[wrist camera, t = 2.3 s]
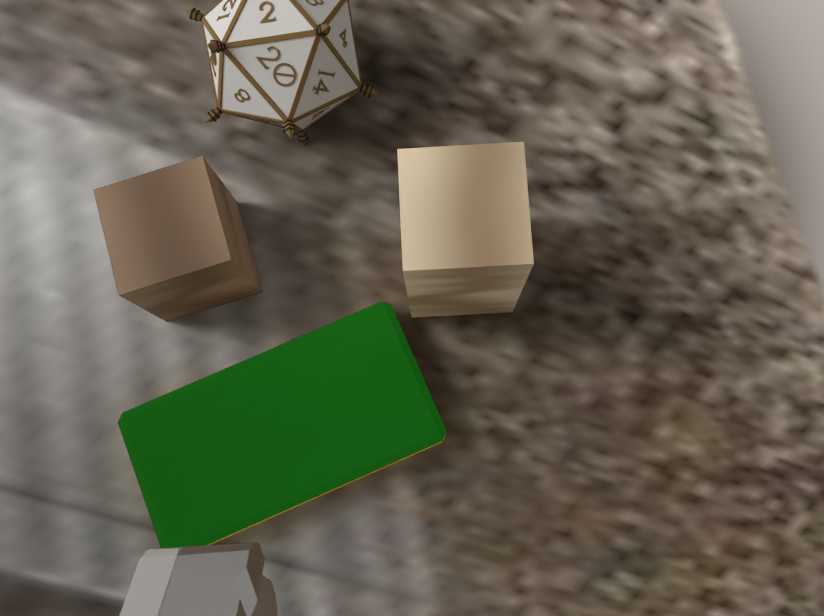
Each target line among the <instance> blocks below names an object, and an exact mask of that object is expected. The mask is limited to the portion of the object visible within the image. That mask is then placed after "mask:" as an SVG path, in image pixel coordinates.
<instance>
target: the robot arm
mask: <svg viewBox="0 0 824 616" xmlns="http://www.w3.org/2000/svg"><path fill="white" fill-rule="evenodd" d="M264 560H265V559H264V557H263V554H262V551H261V548H260V545H259V543H238V544H222V545H205V546H188V547H178V548H163V549H148V550H147V551H146V552H145V553H144V555H143V556H142V557H141V559H140V560H139V562H138V565H137V568H136V570H135V573H134V576H133V579H132V582H131V585H130V587H129V590H128V593H127V596H126V599H125V602H124V604H123V607H122V610H121V613H120V616H277V605H276V598H275V592H274V589H273V585H272V582H271V581H270V580H269V579H267V578H266V577H265V576H263V575H262V572H263V566H264Z"/></svg>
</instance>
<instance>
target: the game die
mask: <svg viewBox="0 0 824 616" xmlns="http://www.w3.org/2000/svg"><path fill="white" fill-rule="evenodd" d="M185 12H186V13H187V14H188V15H189V18H190V19H191V20H193V19H194V20H195V21H201V22H202V27H203V32H204V38H205V43H206V48H207V54H208V59H209V64H210V70H211V75H212V81H213V86H214V91H215V97H216V102H217V108H216V109H214V110H213V109H212V111H211V112H208V116H207V120H206V122H212V121H215V122H216V120H217V119H218V118H220V115H221V113H226V114H230V115H235V116H239V117H243V118H247V119H251V120H255V121H259V122H263V123H267V124H271V125H275V126H279V127H283V128H284V129H285V130H284V131H283V132H284V133H285V134H286V135H287V136H289V138H290V139H291V138H292V136H293V135H295V132H296V131H298V134H297V136H298V138H297V139H298V141H299V142H301V143H302V144H303V145H304V146H305V143H306V140H307V139H308V137H307V133H306V132H305V131H304V129H306V128H307V127H309V126H310V125H311V124H313V123H314V122H316V121H317V120H319V119H320V118H322V117H323V116H324V115H326V114H327V113H329V112H330V111H332V110H333V109H335V108H336V107H337V106H339V105H340V104H342V103H343V102H345V101H346V100H347V99H349V98H350V97H352V96H353V95H355V94H356V93H358V92H359V91H360V92H362V93H363V94H364V96H365V95H366V96H368V98H369V97H372V96H378V94H377V93H376V91H375V90H374V89H373V87H370V86H369V85H367V86H366V85H362V80H361V74H360V68H359V62H358V55H357V49H356V43H355V37H354V30H353V24H352V18H351V12H350V5H349V0H220V1H219V2H218V3H217V4H216V5H215V6H214V7H212V8H211V9H210V10H209V11H208V12H207V13H206V14H205V15H204V14H202V13H201V12H200V10H198V11H197V10H195V8H194V9H190V10H185Z"/></svg>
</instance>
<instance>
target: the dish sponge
mask: <svg viewBox="0 0 824 616" xmlns="http://www.w3.org/2000/svg"><path fill="white" fill-rule="evenodd" d="M118 424H119V427H120V430H121V433H122V436H123V439H124V442H125V445H126V447H127V450H128V453H129V456H130V459H131V462H132V465H133V468H134V471H135V474H136V477H137V479H138V482H139V485H140V488H141V491H142V494H143V497H144V500H145V503H146V506H147V508H148V511H149V514H150V517H151V520H152V523H153V526H154V529H155V532H156V535H157V538H158V540H159V543H160V546H161V549H163V548H178V547H188V546H205V545H212V544H214V543H216V542H218V541H221V540H223V539H225V538H227V537H230V536H232V535H234V534H236V533H239V532H241V531H243V530H245V529H248V528H250V527H252V526H254V525H257V524H259V523H261V522H263V521H266V520H268V519H270V518H273V517H275V516H277V515H279V514H282V513H284V512H286V511H288V510H291V509H293V508H295V507H297V506H300V505H302V504H304V503H306V502H309V501H311V500H313V499H315V498H318V497H320V496H322V495H325V494H327V493H329V492H331V491H334V490H336V489H338V488H340V487H343V486H345V485H347V484H349V483H352V482H354V481H356V480H358V479H361V478H363V477H365V476H367V475H370V474H372V473H374V472H377V471H379V470H381V469H383V468H386V467H388V466H390V465H392V464H395V463H397V462H399V461H401V460H404V459H406V458H408V457H410V456H413V455H415V454H417V453H419V452H422V451H424V450H426V449H428V448H431V447H433V446H435V445H438V444H440V443H442V442H443V440H444V437H445V435H446V431H447V430H446V428H445V426H444V424H443V421H442V419H441V417H440V414H439V412H438V410H437V408H436V405H435V403H434V401H433V399H432V396H431V394H430V392H429V389H428V387H427V385H426V383H425V380H424V378H423V376H422V373H421V371H420V369H419V367H418V364H417V362H416V360H415V358H414V355H413V353H412V351H411V348H410V346H409V344H408V342H407V339H406V337H405V335H404V332H403V330H402V328H401V326H400V323H399V321H398V319H397V317H396V314H395V312H394V310H393V307H392V305H390V304H387V303H385V302H380V303H377V304H375V305H373V306H370V307H368V308H366V309H363V310H361V311H359V312H356V313H354V314H352V315H349V316H347V317H345V318H342V319H340V320H338V321H335V322H333V323H331V324H328V325H326V326H324V327H321V328H319V329H317V330H314V331H312V332H310V333H307V334H305V335H303V336H300V337H298V338H296V339H293V340H291V341H289V342H286V343H284V344H282V345H280V346H277V347H275V348H273V349H270V350H268V351H266V352H263V353H261V354H259V355H256V356H254V357H252V358H249V359H247V360H245V361H242V362H240V363H238V364H235V365H233V366H231V367H228V368H226V369H224V370H221V371H219V372H217V373H214V374H212V375H210V376H207V377H205V378H203V379H200V380H198V381H196V382H193V383H191V384H189V385H186V386H184V387H182V388H179V389H177V390H175V391H172V392H170V393H168V394H165V395H163V396H161V397H158V398H156V399H154V400H151V401H149V402H147V403H144V404H142V405H140V406H138V407H135V408H133V409H131V410H128V411H126V412H124V413H122V415H121V417H120V419H119V421H118Z"/></svg>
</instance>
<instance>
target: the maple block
mask: <svg viewBox="0 0 824 616" xmlns="http://www.w3.org/2000/svg"><path fill="white" fill-rule="evenodd" d="M397 154H398V175H399V197H400V219H401V241H402V263H403V274H404V280H405V285H406V290H407V296H408V301H409V306H410V312H411V317H431V316H450V315H469V314H488V313H507V312H513V310H514V308H515V305H516V303H517V301H518V299H519V296H520V294H521V292H522V290H523V287H524V285H525V283H526V280H527V278H528V276H529V274H530V271H531V269H532V267H533V265H534V259H533V247H532V235H531V223H530V211H529V199H528V187H527V175H526V163H525V151H524V142H509V143H492V144H475V145H458V146H441V147H424V148H407V149H397Z"/></svg>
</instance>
